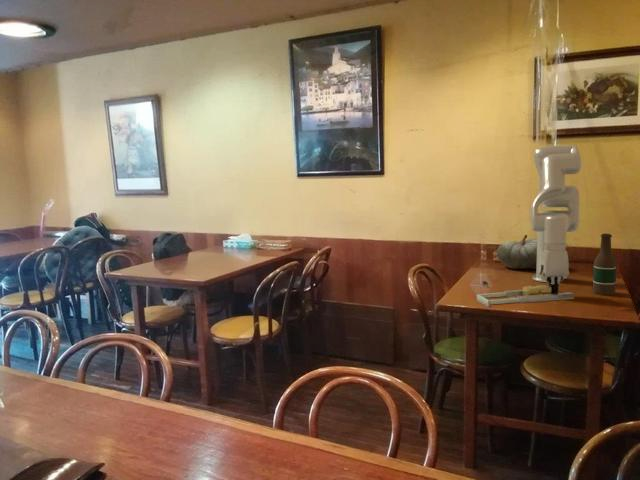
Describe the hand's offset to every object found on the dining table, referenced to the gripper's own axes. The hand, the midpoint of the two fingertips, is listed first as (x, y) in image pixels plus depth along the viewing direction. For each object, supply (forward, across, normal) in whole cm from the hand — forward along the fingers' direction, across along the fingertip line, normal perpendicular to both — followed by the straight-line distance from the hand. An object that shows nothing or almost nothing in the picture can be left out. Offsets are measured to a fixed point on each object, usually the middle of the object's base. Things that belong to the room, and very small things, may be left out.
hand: (553, 293), depth 189 cm
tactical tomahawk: (+3, +15, -22) cm, 26 cm away
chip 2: (+1, +4, 0) cm, 4 cm away
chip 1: (+1, +10, 0) cm, 10 cm away
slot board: (+2, +6, 0) cm, 7 cm away
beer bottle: (+2, -23, -1) cm, 23 cm away
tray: (+2, +24, 0) cm, 24 cm away
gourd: (+2, -22, -58) cm, 62 cm away
